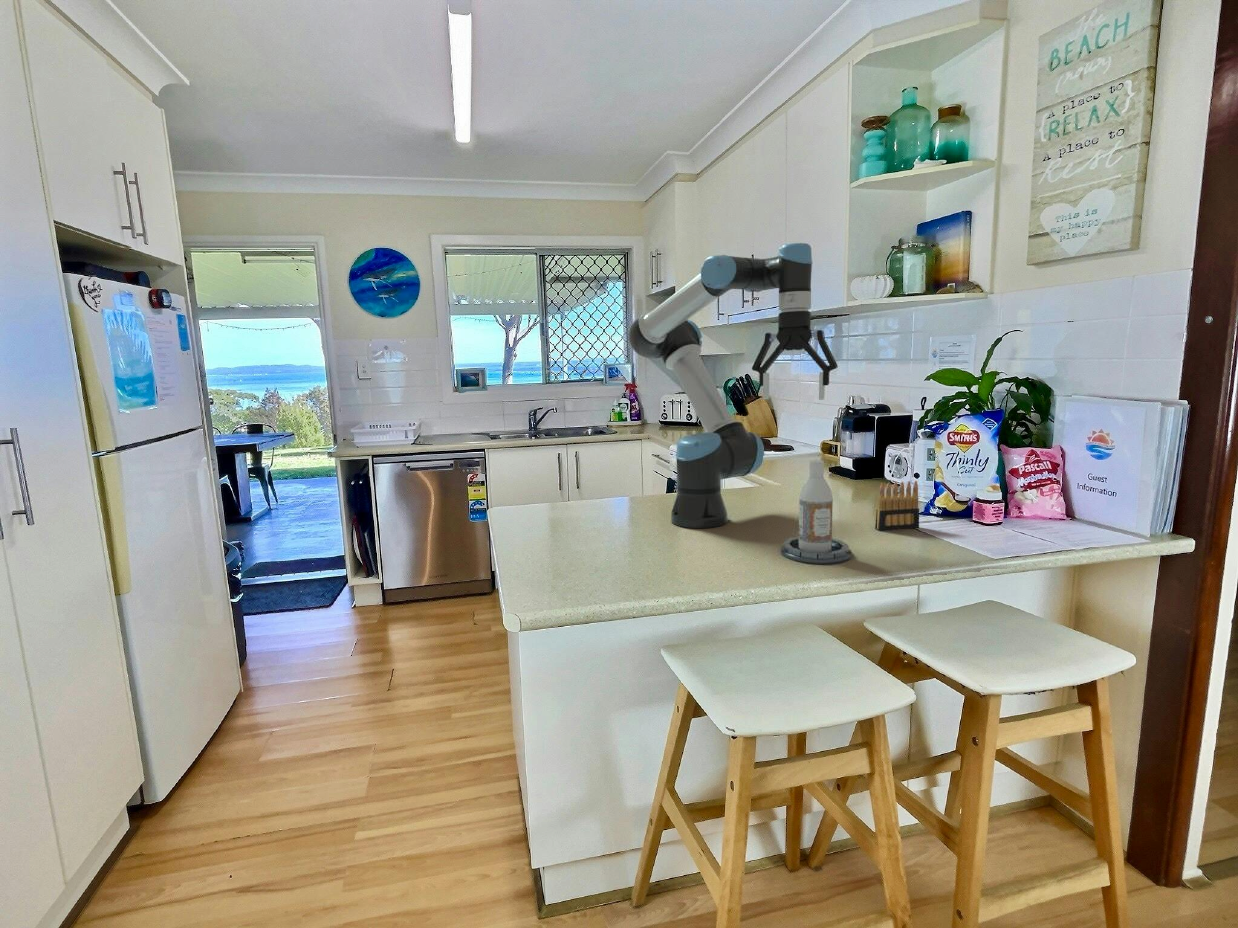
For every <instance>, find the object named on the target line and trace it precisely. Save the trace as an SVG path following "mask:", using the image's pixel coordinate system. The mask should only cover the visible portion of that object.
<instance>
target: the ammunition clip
mask: <svg viewBox="0 0 1238 928" xmlns="http://www.w3.org/2000/svg"><path fill="white" fill-rule="evenodd" d="M911 485H912V484H911V481H907V484H906V487H905V484H904V481H901V482H900V485H899V486H898V483H897V482H896V481H894V483H893V487H892V485H891V483H890V481H889V482H887V485H886V487H885V486H884V482H881V483H880V486H879V490H878V491H879V492H878V499H877V509H876V514H875V515H876V516H875V526H874V529H875V530H877V531H878V532H885V531H897V530H898V531H901V530H915V529H919V528H920V508H919V499H920V498H919V486H918V485H919V484H918V481H917V480H915V481H914V483H913V485H912V486H913V487H912V486H911ZM898 487H899V489H898ZM885 488H886V489H885Z"/></svg>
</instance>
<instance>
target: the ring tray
mask: <svg viewBox="0 0 1238 928" xmlns="http://www.w3.org/2000/svg"><path fill="white" fill-rule="evenodd" d="M780 554H781V556H783V557H784V558H786V559H788V560H790V561H795V562H798V563H801V564H802V563H803V564H809V565H810V564H811V565H834V564H835V565H836V564H842V563H846V562H848V561H849V560H851V559H852V556H853V553H852V550H851V548H850V545H848V543H846V542H844V541H842V540H840V539H836V538H833V537H832V541H831V550H830V551H829V552H819V553H817V552H809V551H802V550H800V549H799V536H796V537H791V538H788V539H786V540H784V542H783V544H782V546H780Z"/></svg>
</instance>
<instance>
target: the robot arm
mask: <svg viewBox="0 0 1238 928" xmlns="http://www.w3.org/2000/svg"><path fill="white" fill-rule="evenodd" d="M778 252H779V253H778V254H777V255H778V256H774V257H769V258H752V257H743V256H742V257H740V256H732V255H727V254H721V255H720V254H718V255H709V256H708V257H706V259H704V262H703V264H702V265H701V267H700V273H699V274H698V275H697V276H695V277H694V278H692V279H691V280H690V281H689V282H688V283H686V284H685V285H684V286H683V287H681V288H680V289H679V290H677V291H676V292H675V293H673V294H672V295H671V296H669V297H668V298H667V299H666V300H664V301H663V302H662V303H660V304H659V305H658V306H657V307H655V308H654V309H653V310H652V311H651V310H648V311H644V312H643V313H642V314H640V315H639V316H637V318H636V319H635V320H634V321H633V323H632V324H631V325H630V328H629V331H628V341H629V345H630V346H631V348H632V349H633V351H634V352H635V353H636V354H637V355H638V356H641V357H643V358H647V359H662V361H663V364H664V365H665V368H666V369H668V370H670V371H673V372H674V373H675V375H676V377H677V380H678V382H679V383H680V385H681V387H682V389H683V391H684V393H685V395H686V397H687V399H688V400H689V402H690V404H691V406H692V408H693V409H694V412H695V414H696V415H697V418H698V419H699V421H700V423H701V425H702V427H703V429H704V431H705V432H700V433H698V432H697V433H691V434H688V435H684V436H683V437H681V438H680V439H678V441H677V443H676V453H675V459H676V497H675V500H674V503H673V506H672V508H671V513H670V521H671V523H672V524H673V525H675V526H679V527H684V528H691V529H692V528H693V529H707V528H708V529H709V528H716V527H717V528H718V527H720V526H724V525H725V524H726V523H728V511H727V508H726V504H725V502H724V499H723V496H722V492H721V491H722V490H721V489H722V486H721V485H722V484H721V483H722V480H725V479H731V478H737V477H745V476H747V475H751V474H753V473H755V472H756V471H758V470H759V469H760V468H761V467H762V464H763V463H764V456H765V447H764V443H763V441H762V439H761V438H760V436H759V435H758V434H756V433H754V432H751V431H749V432H748V431H747V429H746V427H745V425H744V424H743V423H742V421H740V420H735V419H734V418H733V416H732V413H731V411H730V410H729V407H728V406H727V405H726V402H725V401H724V398H723V397H722V395H721V393H720V391H719V389H718V387H717V386H716V384H715V382H714V380H713V378H712V377H711V375H710V374H709V372H708V370H707V367H706V366H705V364H704V362H703V360H702V359H701V357H700V356H701V353H702V344H703V341H702V340H701V339H702V338H703V337H702V332H701V329H700V328H699V326H698V325H697V324H696V322H694V321H692V320H691V319H690V318H692V317H693V316H694V315H696V314H697V313H698V312H701V311H702V310H703V309H704V308H706V307H707V306H708V305H710V304H711V303H712V302H715V300H717V299H718V298H720V297H721V296H723V295H724V294H726V293H727V292H729V291H731V290H743V291H745V292H747V293H752V292H755V293H759V292H763V291H768V290H775V289H778V311H781V312H780V313H779V314H778V315H777V316H778V318H777V320H778V322H777V323H778V324H777V325H778V326H777V327H778V328H777V329H778V331H777V333H772V332H766V333H765V334H764V341H763V344H762V346H761V348H760V349H759V352H758V355H757V356H756V358H755V360H754V362H753V365H752V367H751V370H752V371H753V372H757V373H758V375H759V376H758V379H759V380H758V383H759V386H760V387H762V400H763V401H765V400H769V399H770V372H767V371H768V370H769V368H770V367H771V366H772V365H773V364H774V363H775V361H776V360H777V359H778V358H779V357H780V355H781V354H782V353H784V351H794V350H795V351H801V350H804V351H805V352H806V353H807V354H808V356H810V358H811V359H812V360H813V361H814V363H816V365H818V367H819V368H820V369H821V370H822V371H821V372H819V377H818V400H820V401H822V400H825V391H826V389H825V387H826V386H829V385H830V373H831V371H833V370H837V368H838V363H837V361H836V359H835V357H834V356H833V353H832V351H831V348H830V347H829V345H828V343H827V341H826V338H825V331H824V330H822V329H818V330H817V331H812V330H811V324H812V323H811V321H812V318H811V317H812V313H811V311H809V310H810V309H811V308H812V288H811V287H812V271H813V270H812V269H813V259H812V247H811V244H809V243H805V242H804V243H803V242H796V243H795V242H794V243H793V242H792V243H786V244H783V245H781V246H780V247H779V249H778ZM812 338H814V340H815V341H818V344H819V346H820V349H821V350H822V352H823V355H824V357H825V359H826V360H827V362H825V361H824V360H823V358H822V357H821V356H820V354H819V353H818V352H817V351H816V350H815V349H814V348H813V346H812V345H811V343H809V342H810V341H811V340H812ZM776 339H777V341H778V343H779V344H778V345H777V347H776V348H775V350H773V352H772V353H771V354H770V356H769V357H768V358H767V359H766V361H764V360H765V357H766V355H767V354H768V351H769V349H770V347H771V346H772V343H774V342H775V340H776ZM763 362H764V363H763ZM827 363H828V364H827Z"/></svg>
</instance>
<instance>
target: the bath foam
mask: <svg viewBox="0 0 1238 928" xmlns="http://www.w3.org/2000/svg"><path fill="white" fill-rule="evenodd" d="M824 468H825V461H824V460H822V459H811V460H809V476H808V479H807V480H806V481H805V483H804V484H803V486H802V487H801V489H800V492H799V498H798V499H799V501H798V502H799V504H798V507H799V509H798V537H799V549H800V550H802V551H809V552H817V553H819V552H829V551H830V550H831V541H832V538H833V537H832V535H833V509H834V508H833V504H834V503H833V500H834V499H833V498H834V497H833V493H832V490H831V488H830V487H831V486H830V485H829V484H828V482H827V480H826V479H825V478H824V476H825V475H824V472H825V471H824V470H825V469H824Z"/></svg>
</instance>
